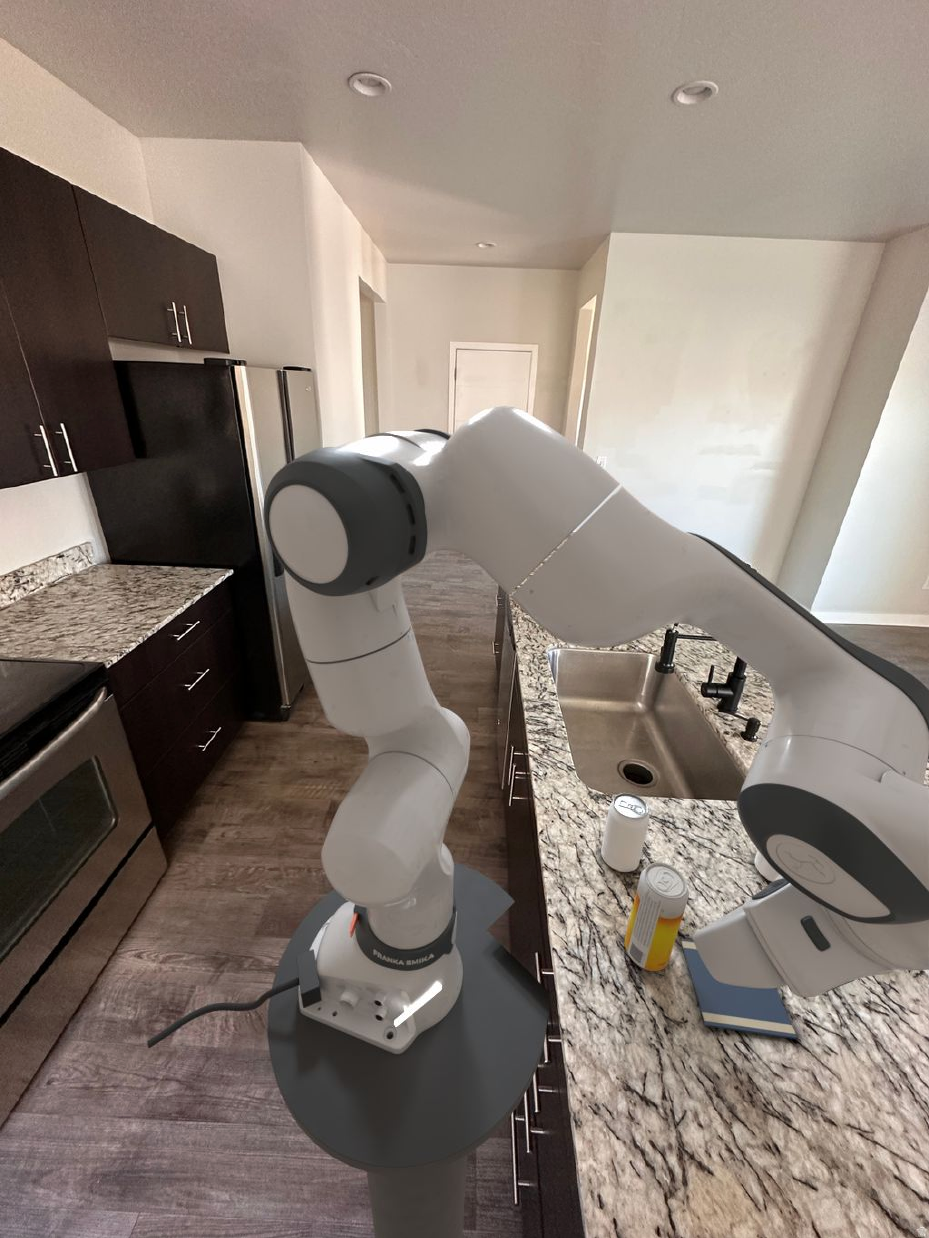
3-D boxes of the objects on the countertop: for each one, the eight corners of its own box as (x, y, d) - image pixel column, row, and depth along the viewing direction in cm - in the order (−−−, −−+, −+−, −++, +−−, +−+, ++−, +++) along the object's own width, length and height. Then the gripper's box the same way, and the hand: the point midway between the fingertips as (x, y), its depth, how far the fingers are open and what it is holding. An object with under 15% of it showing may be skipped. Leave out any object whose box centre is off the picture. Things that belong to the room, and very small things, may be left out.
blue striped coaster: (704, 1026, 62) (705, 1024, 62) (680, 939, 72) (680, 938, 72) (796, 1039, 61) (797, 1037, 61) (758, 950, 71) (759, 948, 71)
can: (633, 880, 81) (646, 826, 76) (595, 862, 84) (605, 809, 79) (642, 852, 86) (655, 800, 81) (606, 836, 89) (616, 785, 84)
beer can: (675, 952, 70) (698, 880, 64) (656, 984, 66) (678, 910, 60) (636, 922, 74) (654, 852, 68) (615, 951, 70) (633, 878, 64)
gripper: (903, 814, 44) (795, 843, 55) (736, 912, 37) (652, 923, 48) (964, 889, 41) (837, 903, 52) (794, 1010, 34) (690, 997, 45)
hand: (747, 913), depth 50 cm, fingers open, 8 cm apart
